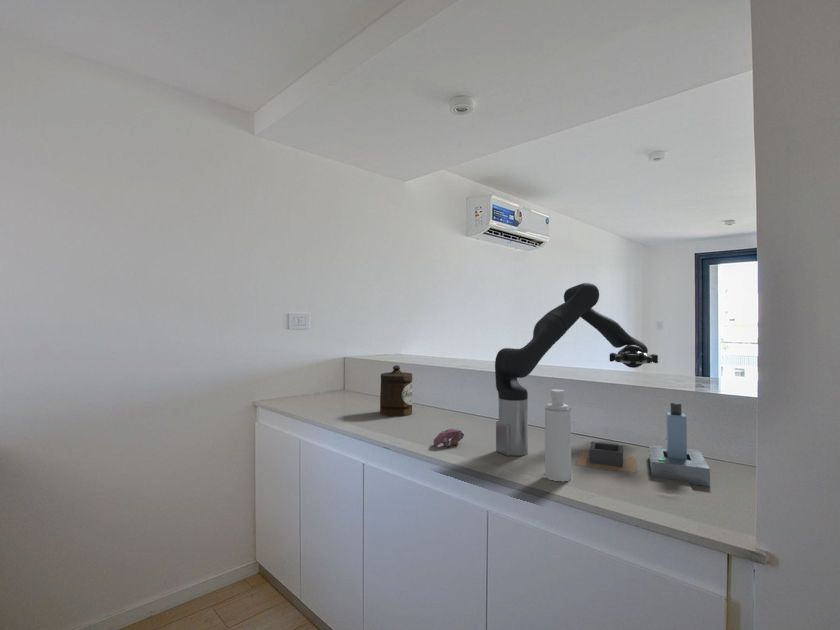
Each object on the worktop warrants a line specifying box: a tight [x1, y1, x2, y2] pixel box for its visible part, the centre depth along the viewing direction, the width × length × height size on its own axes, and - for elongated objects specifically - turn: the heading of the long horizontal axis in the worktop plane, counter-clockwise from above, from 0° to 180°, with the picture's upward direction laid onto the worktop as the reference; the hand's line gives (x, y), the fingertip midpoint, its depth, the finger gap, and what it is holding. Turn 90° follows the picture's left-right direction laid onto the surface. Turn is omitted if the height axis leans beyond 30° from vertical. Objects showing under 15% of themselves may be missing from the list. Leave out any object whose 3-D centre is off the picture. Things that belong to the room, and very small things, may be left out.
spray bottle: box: [544, 388, 572, 483], centre depth 117 cm, size 7×7×25 cm
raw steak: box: [433, 428, 465, 447], centre depth 147 cm, size 10×5×7 cm, turn 120°
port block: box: [648, 444, 711, 487], centre depth 121 cm, size 18×13×5 cm
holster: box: [575, 441, 638, 474], centre depth 129 cm, size 16×16×5 cm
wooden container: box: [379, 365, 413, 417], centre depth 200 cm, size 15×15×22 cm
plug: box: [665, 402, 688, 460], centre depth 121 cm, size 4×4×19 cm
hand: (633, 359), depth 137 cm, fingers open, 8 cm apart
